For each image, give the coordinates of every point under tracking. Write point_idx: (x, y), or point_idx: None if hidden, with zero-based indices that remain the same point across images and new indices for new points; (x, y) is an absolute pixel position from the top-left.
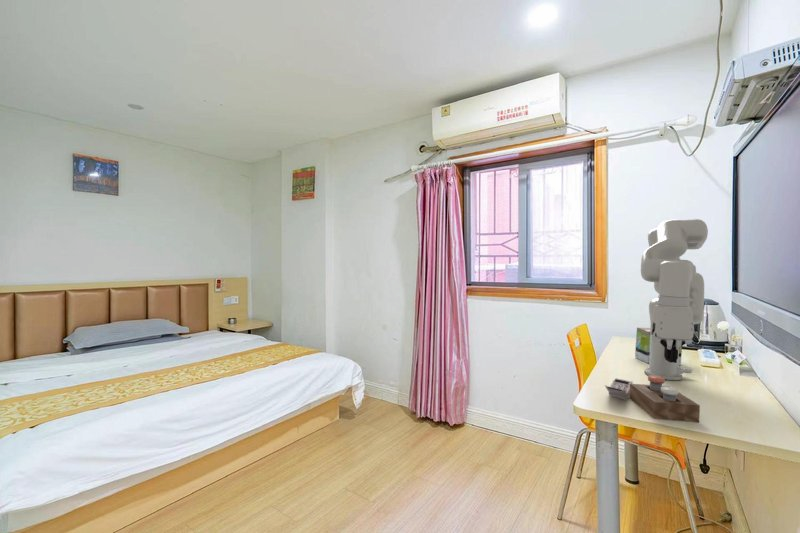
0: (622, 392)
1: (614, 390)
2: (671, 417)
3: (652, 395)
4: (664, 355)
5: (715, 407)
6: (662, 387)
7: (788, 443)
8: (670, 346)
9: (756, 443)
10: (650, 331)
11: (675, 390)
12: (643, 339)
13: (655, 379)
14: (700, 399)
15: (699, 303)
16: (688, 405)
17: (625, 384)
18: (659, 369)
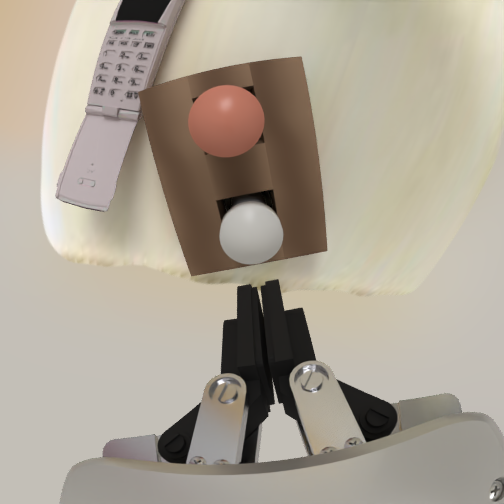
0: (110, 176)
1: (87, 177)
2: None
3: (196, 212)
4: (224, 331)
5: (408, 92)
6: (226, 228)
7: (427, 269)
8: (254, 429)
9: (372, 294)
10: (68, 492)
11: (268, 246)
12: None
13: (214, 155)
14: (393, 34)
15: None
16: (293, 255)
17: (149, 25)
18: None
